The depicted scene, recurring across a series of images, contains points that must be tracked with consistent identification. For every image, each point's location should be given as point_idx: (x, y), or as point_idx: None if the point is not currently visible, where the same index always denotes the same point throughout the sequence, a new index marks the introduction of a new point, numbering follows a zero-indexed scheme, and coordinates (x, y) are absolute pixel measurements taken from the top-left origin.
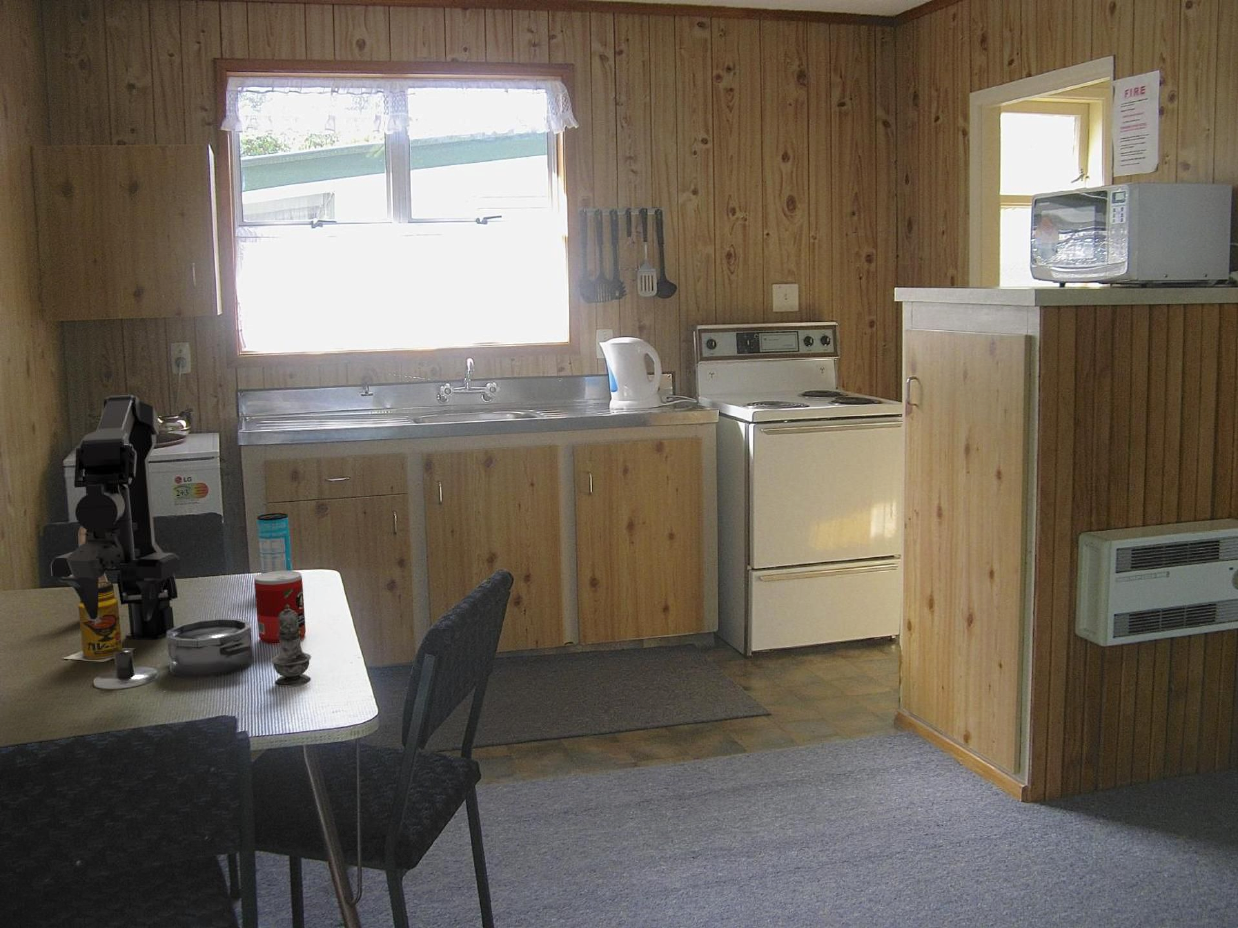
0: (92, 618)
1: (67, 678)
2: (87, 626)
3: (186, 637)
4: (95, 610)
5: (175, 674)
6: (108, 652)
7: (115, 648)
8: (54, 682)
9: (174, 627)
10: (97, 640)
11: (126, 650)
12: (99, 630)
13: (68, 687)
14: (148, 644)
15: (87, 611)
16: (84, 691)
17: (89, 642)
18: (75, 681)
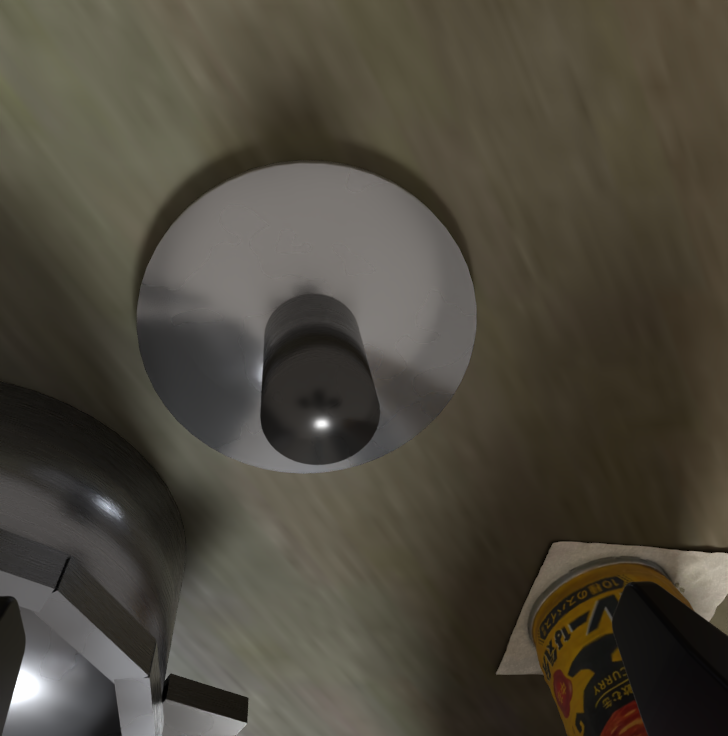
0: (637, 584)
1: (641, 326)
2: None
3: None
4: (652, 682)
5: (55, 403)
6: (565, 599)
7: (547, 630)
8: (687, 262)
9: (153, 728)
10: None
11: (307, 433)
12: None
13: (578, 181)
14: (468, 715)
15: (724, 637)
16: (447, 108)
17: None
18: (579, 283)
